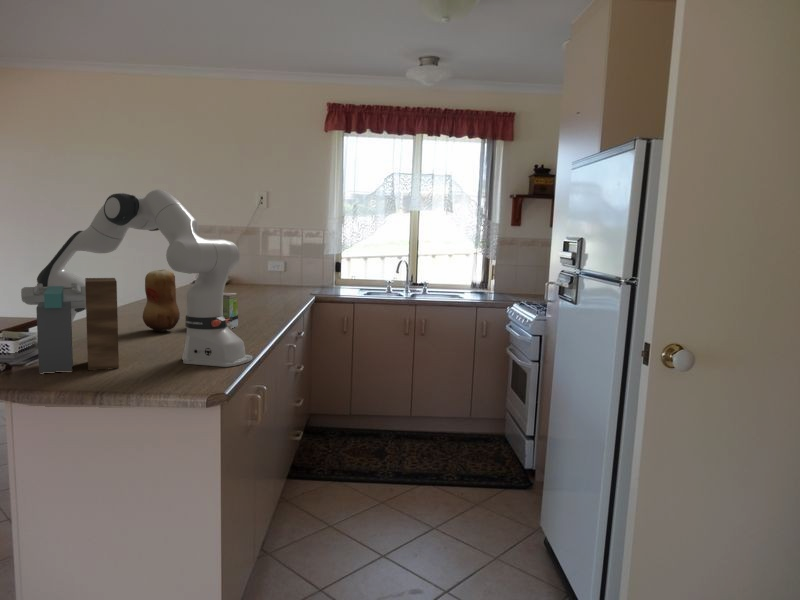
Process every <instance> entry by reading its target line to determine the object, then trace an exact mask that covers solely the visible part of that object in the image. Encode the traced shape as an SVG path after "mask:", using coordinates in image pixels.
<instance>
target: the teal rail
mask: <svg viewBox="0 0 800 600" xmlns="http://www.w3.org/2000/svg"><path fill="white" fill-rule="evenodd" d="M63 300H64V290H63V286H48V287H47V289H46V291H45V293H44V305H45V308H62V304H63Z"/></svg>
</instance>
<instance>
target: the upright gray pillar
mask: <svg viewBox="0 0 800 600" xmlns="http://www.w3.org/2000/svg"><path fill="white" fill-rule="evenodd" d="M35 310H36V326H37V327H36V329H37V330H36V331H37V350H38V351H37V353H38V356H37V357H38V374H39V373H43V372H56V371H72V372H73V369H72V367H74V353H73V328H72V327H73V324H72V322H73V321H72V319H71V301H63V304H62V308H45V305H44V302H39V304H38V305H36V309H35Z"/></svg>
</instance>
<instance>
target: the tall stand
mask: <svg viewBox="0 0 800 600" xmlns="http://www.w3.org/2000/svg"><path fill="white" fill-rule="evenodd" d="M84 280H85V289H86V310H85V316H86V317H85V318H86V319H85V321H86V345H87V346H86V347H87V348H86V349H87V371H88V370H93V369H106V370H109V369H108V368H119V369H120V365H119V363H120V362H119V361H120V360H119V355H120V354H119V327H118V325H119V324H118V321H119V319H118V318H119V316H118V287H117V286H118V285H117V283H118V281H117V279H116V278H115V277H85V279H84ZM93 371H94V370H93Z"/></svg>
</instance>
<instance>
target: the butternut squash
mask: <svg viewBox="0 0 800 600" xmlns="http://www.w3.org/2000/svg"><path fill="white" fill-rule="evenodd" d="M176 287H177V286H176V276H175V274H174V272H173V271H171V270H170V269H166V268H165V269H156V270H151V271H150V272H148V273H147V274H146V275H145V278H144V292H145V296H146V304H145V306H144V308H143V311H142V320H143V322H144V325H145V326H146V327H147V328H150V329H151V330H153V331H154V332H162V333H163V332H166V331H168V330H172V329H174V328H175V327H176V326H177V324H178V323H179V321H180V319H181V318H180V316H181V314H180V308H179V306H178V304H177V303H178V302H177V293H176V292H177V290H176V289H177V288H176Z"/></svg>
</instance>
